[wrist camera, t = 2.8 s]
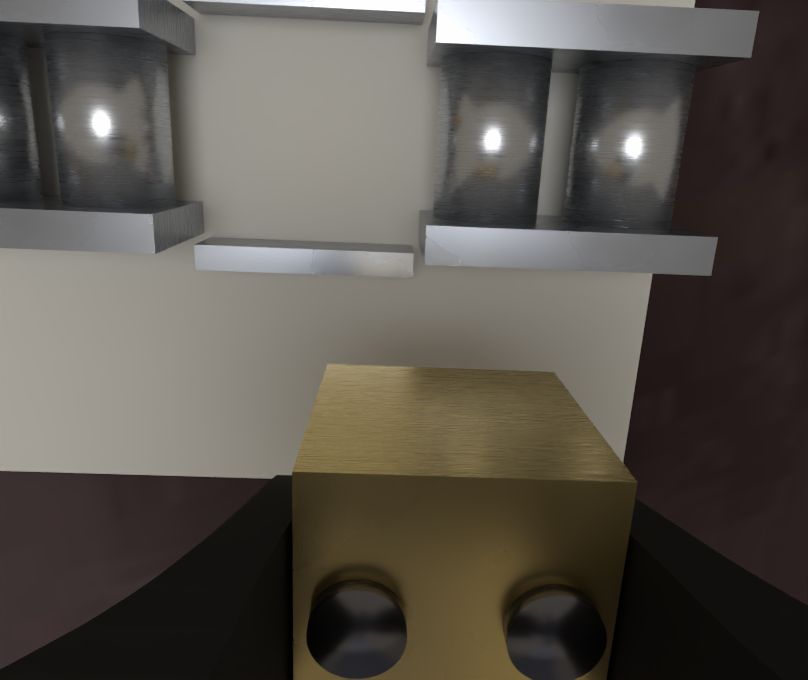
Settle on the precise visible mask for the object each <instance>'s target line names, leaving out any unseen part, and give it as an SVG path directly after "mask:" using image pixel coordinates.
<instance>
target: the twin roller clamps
mask: <svg viewBox="0 0 808 680" xmlns="http://www.w3.org/2000/svg"><path fill="white" fill-rule="evenodd" d="M181 1H183V2H184V3H186V4H187V5H188V6H190V7H191V8H193V9H194V10H195V11H197V12H198V13H200V14H210V15H230V16H250V17H270V18H291V19H311V20H331V21H351V22H371V23H392V24H412V25H422V23H423V19H424V15H425V2H426V0H181ZM758 16H759V11H746V10H726V9H707V8H687V7H667V6H648V5H628V4H608V3H589V2H569V1H549V0H437V1H436V5H435V8H434V12H433V15H432V19H431V22H430V26H429V29H428V46H427V67H441V75H440V94H439V112H438V131H437V149H436V167H435V186H434V204H433V211H429V210H420V212H419V232H418V243H419V247H420V250H421V254H422V257H423V261H424V265H449V266H475V267H500V268H526V269H552V270H577V271H603V272H629V273H655V274H680V275H706V276H711V273H712V267H713V262H714V256H715V251H716V245H717V240H718V237H715V236H711V235H707V234H704V233H700V232H696V231H692V230H689V229H685V228H681V227H677V226H673V225H671V219H672V213H673V207H674V201H675V194H676V188H677V182H678V176H679V169H680V163H681V157H682V151H683V144H684V138H685V132H686V126H687V120H688V113H689V107H690V101H691V95H692V88H693V82H694V76H695V72H698V71H702V70H706V69H710V68H713V67H717V66H721V65H725V64H729V63H733V62H736V61H740V60H744V59H748V58H751V54H752V48H753V43H754V37H755V32H756V26H757V21H758ZM26 47H29V48H45V57H46V66H47V75H48V84H49V93H50V102H51V111H52V121H53V130H54V139H55V148H56V157H57V166H58V175H59V184H60V193H61V195H43V190H42V181H41V173H40V164H39V156H38V147H37V139H36V130H35V122H34V113H33V105H32V96H31V88H30V79H29V71H28V62H27V54H26ZM167 54H175V55H196V46H195V25H194V18H193V17H191V16H190V15H188V14H187V13H185V12H184V11H182V10H181V9H179V8H178V7H176V6H175V5H173V4H172V3H170V2H169V1H167V0H0V248H12V249H38V250H63V251H89V252H115V253H140V254H157V253H159V252H161V251H164V250H166V249H168V248H171V247H173V246H175V245H178V244H180V243H182V242H185V241H187V240H189V239H191V238H194V237H196V236H198V235H201V234H203V233H204V214H203V201H187V200H176V199H175V182H174V165H173V148H172V131H171V115H170V98H169V81H168V64H167ZM551 72H553V73H574V74H579V83H578V91H577V100H576V109H575V118H574V127H573V136H572V145H571V154H570V163H569V172H568V181H567V189H566V198H565V207H564V216H550V215H537V209H538V199H539V189H540V179H541V169H542V159H543V149H544V139H545V129H546V119H547V109H548V99H549V89H550V80H551ZM194 253H195V270H212V271H238V272H264V273H291V274H317V275H343V276H369V277H395V278H413V260H414V252H413V247H412V245H398V244H372V243H347V242H322V241H297V240H272V239H247V238H221V237H210V238H207V239H205V240H203V241H201V242H199V243H197V244H195V245H194Z"/></svg>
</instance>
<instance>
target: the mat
mask: <svg viewBox="0 0 808 680" xmlns="http://www.w3.org/2000/svg"><path fill="white" fill-rule="evenodd" d="M167 1H169V2H170V3H172V4H173V5H175V6H176V7H178V8H179V9H181V10H182V11H184V12H185V13H187V14H188V15H190V16H191V17H193V18H194V25H195V46H196V55H175V54H167V64H168V81H169V98H170V115H171V131H172V148H173V165H174V182H175V199H176V200H187V201H203V214H204V233H203V234H201V235H198V236H196V237H194V238H191V239H189V240H187V241H185V242H182V243H180V244H178V245H175V246H173V247H171V248H168V249H166V250H164V251H161V252H159V253H157V254H140V253H115V252H89V251H63V250H38V249H12V248H0V471H29V472H63V473H98V474H132V475H166V476H200V477H234V478H268V479H272V478H274V477H275V476H276V475H292V471H293V467H294V464H295V461H296V458H297V455H298V452H299V449H300V446H301V443H302V440H303V437H304V434H305V431H306V428H307V425H308V422H309V419H310V416H311V413H312V410H313V406H314V403H315V400H316V397H317V394H318V391H319V388H320V385H321V382H322V379H323V376H324V373H325V370H326V367H327V364H348V365H376V366H404V367H432V368H460V369H488V370H516V371H544V372H554V373H555V374H556V375H557V377H558V378H559V379H560V381H561V382H562V383H563V384H564V386H565V387H566V388H567V390H568V391H569V392H570V394H571V395H572V396H573V398H574V399H575V400H576V402H577V403H578V404H579V406H580V407H581V408H582V410H583V411H584V412H585V414H586V415H587V416H588V417H589V419H590V420H591V421H592V423H593V424H594V425H595V427H596V428H597V429H598V431H599V432H600V433H601V435H602V436H603V437H604V439H605V440H606V441H607V443H608V444H609V445H610V446H611V448H612V449H613V450H614V452H615V453H616V454H617V456H618V457H619V458H620V460H621V461H622V462H623V460H624V453H625V447H626V441H627V434H628V428H629V421H630V415H631V409H632V402H633V396H634V389H635V383H636V376H637V370H638V364H639V357H640V351H641V344H642V338H643V332H644V325H645V319H646V312H647V306H648V299H649V293H650V287H651V280H652V274H653V273H629V272H603V271H577V270H552V269H526V268H500V267H475V266H449V265H424V261H423V257H422V254H421V250H420V247H419V243H418V232H419V212H420V210H429V211H433V204H434V186H435V167H436V149H437V131H438V112H439V94H440V75H441V67H427V46H428V29H429V26H430V22H431V19H432V15H433V12H434V8H435V5H436V1H437V0H426V2H425V15H424V19H423V23H422V25H412V24H392V23H371V22H351V21H331V20H311V19H291V18H270V17H250V16H230V15H210V14H200V13H198V12H197V11H195V10H194V9H193V8H191V7H190V6H188V5H187V4H186V3H184V2H183V1H181V0H167ZM549 1H569V2H589V3H608V4H628V5H648V6H667V7H687V8H694V4H695V0H549ZM26 54H27V62H28V71H29V79H30V88H31V96H32V105H33V113H34V122H35V130H36V139H37V147H38V156H39V164H40V173H41V181H42V190H43V195H61V193H60V184H59V175H58V166H57V157H56V148H55V139H54V130H53V121H52V111H51V102H50V93H49V84H48V75H47V66H46V57H45V48H29V47H26ZM578 83H579V74H574V73H553V72H551V80H550V89H549V99H548V109H547V119H546V129H545V139H544V149H543V159H542V169H541V179H540V189H539V199H538V209H537V215H550V216H564V207H565V198H566V189H567V181H568V172H569V163H570V154H571V145H572V136H573V127H574V118H575V109H576V100H577V91H578ZM210 237H221V238H247V239H272V240H297V241H322V242H347V243H372V244H398V245H412V247H413V252H414V260H413V278H395V277H369V276H343V275H317V274H291V273H264V272H238V271H212V270H195V253H194V245H195V244H197V243H199V242H201V241H203V240H205V239H207V238H210Z"/></svg>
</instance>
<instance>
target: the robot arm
mask: <svg viewBox="0 0 808 680" xmlns="http://www.w3.org/2000/svg"><path fill="white" fill-rule="evenodd" d="M0 680H293V530H292V475H276V476H275V477H274V478H272V479H271V480H270V481H269V482H268V483H267V484H266V485H264V486H263V487H262V488H261V489H260V490H259V491H258V492H257V493H256V494H255V495H254V496H252V497H251V498H250V499H249V500H248V501H247V502H246V503H245V504H244V505H243V506H242V507H241V508H240V509H239V510H237V511H236V512H235V513H234V514H233V515H232V516H231V517H230V518H229V519H228V520H226V521H225V522H224V523H223V524H222V525H221V526H220V527H218V528H217V529H216V530H215V531H214V532H213V533H212V534H210V535H209V536H208V537H207V538H206V539H205V540H204V541H202V542H201V543H200V544H198V545H197V546H196V547H195V548H193V549H192V550H191V551H190V552H188V553H187V554H186V555H184V556H183V557H182V558H181V559H179V560H178V561H177V562H175V563H174V564H173V565H172V566H170V567H169V568H168V569H167V570H165V571H164V572H163V573H161V574H160V575H159V576H157V577H156V578H154V579H153V580H152V581H150V582H149V583H147V584H146V585H144V586H143V587H142V588H140V589H139V590H137V591H136V592H134V593H133V594H131V595H130V596H128V597H127V598H125V599H124V600H122V601H120V602H119V603H117V604H116V605H114V606H112V607H111V608H109V609H108V610H106V611H105V612H103V613H101V614H100V615H98V616H97V617H95V618H93V619H92V620H90V621H88V622H87V623H85V624H83V625H82V626H80V627H78V628H76V629H74V630H72V631H71V632H69V633H67V634H65V635H63V636H61V637H60V638H58V639H56V640H54V641H52V642H50V643H49V644H47V645H45V646H43V647H41V648H39V649H38V650H36V651H34V652H32V653H30V654H28V655H26V656H25V657H23V658H21V659H19V660H17V661H15V662H14V663H12V664H10V665H8V666H6V667H4V668H2V669H0ZM606 680H808V605H806V604H804V603H802V602H800V601H799V600H797V599H795V598H793V597H791V596H790V595H788V594H786V593H784V592H783V591H781V590H779V589H778V588H776V587H774V586H773V585H771V584H769V583H767V582H766V581H764V580H762V579H761V578H759V577H757V576H755V575H754V574H752V573H750V572H749V571H747V570H745V569H744V568H742V567H740V566H739V565H737V564H736V563H734V562H732V561H731V560H729V559H728V558H726V557H724V556H723V555H721V554H720V553H718V552H717V551H715V550H713V549H712V548H710V547H709V546H707V545H706V544H704V543H703V542H701V541H700V540H698V539H696V538H695V537H693V536H692V535H690V534H689V533H687V532H686V531H684V530H683V529H681V528H680V527H678V526H677V525H675V524H674V523H672V522H671V521H669V520H668V519H666V518H665V517H663V516H662V515H660V514H659V513H657V512H656V511H654V510H653V509H651V508H650V507H648V506H647V505H645V504H644V503H642V502H640V501H639V500H637V499H636V498H635V503H634V509H633V515H632V522H631V528H630V534H629V541H628V547H627V553H626V559H625V566H624V572H623V578H622V585H621V591H620V597H619V603H618V610H617V616H616V622H615V629H614V635H613V641H612V647H611V654H610V660H609V666H608V673H607V679H606Z"/></svg>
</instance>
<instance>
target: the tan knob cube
mask: <svg viewBox="0 0 808 680" xmlns="http://www.w3.org/2000/svg"><path fill="white" fill-rule="evenodd" d="M637 484H638V482H637V481H636V479H635V478H634V477H633V476H632V474H631V473H630V472H629V470H628V469H627V468H626V466H625V465H624V464H623V462H622V461H621V460H620V458H619V457H618V456H617V454H616V453H615V452H614V450H613V449H612V448H611V446H610V445H609V444H608V443H607V441H606V440H605V439H604V437H603V436H602V435H601V433H600V432H599V431H598V429H597V428H596V427H595V425H594V424H593V423H592V421H591V420H590V419H589V417H588V416H587V415H586V414H585V412H584V411H583V410H582V408H581V407H580V406H579V404H578V403H577V402H576V400H575V399H574V398H573V396H572V395H571V394H570V392H569V391H568V390H567V388H566V387H565V386H564V384H563V383H562V382H561V381H560V379H559V378H558V377H557V375H556V374H555V373H554V372H544V371H516V370H488V369H460V368H432V367H404V366H376V365H348V364H327V367H326V370H325V373H324V376H323V379H322V382H321V385H320V388H319V391H318V394H317V397H316V400H315V403H314V406H313V410H312V413H311V416H310V419H309V422H308V425H307V428H306V431H305V434H304V437H303V440H302V443H301V446H300V449H299V452H298V455H297V458H296V461H295V464H294V467H293V471H292V530H293V680H606V679H607V673H608V666H609V660H610V654H611V647H612V641H613V635H614V629H615V622H616V616H617V610H618V603H619V597H620V591H621V585H622V578H623V572H624V566H625V559H626V553H627V547H628V541H629V534H630V528H631V522H632V515H633V509H634V503H635V496H636V490H637Z"/></svg>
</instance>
